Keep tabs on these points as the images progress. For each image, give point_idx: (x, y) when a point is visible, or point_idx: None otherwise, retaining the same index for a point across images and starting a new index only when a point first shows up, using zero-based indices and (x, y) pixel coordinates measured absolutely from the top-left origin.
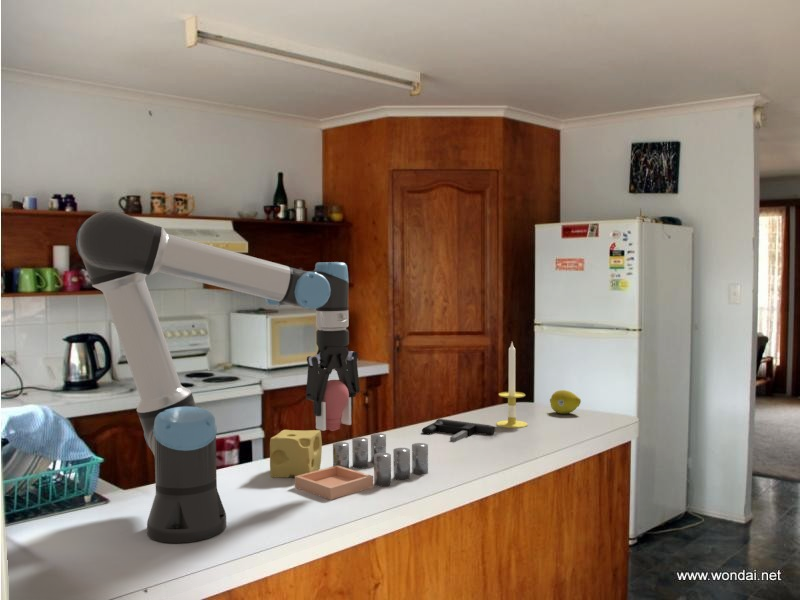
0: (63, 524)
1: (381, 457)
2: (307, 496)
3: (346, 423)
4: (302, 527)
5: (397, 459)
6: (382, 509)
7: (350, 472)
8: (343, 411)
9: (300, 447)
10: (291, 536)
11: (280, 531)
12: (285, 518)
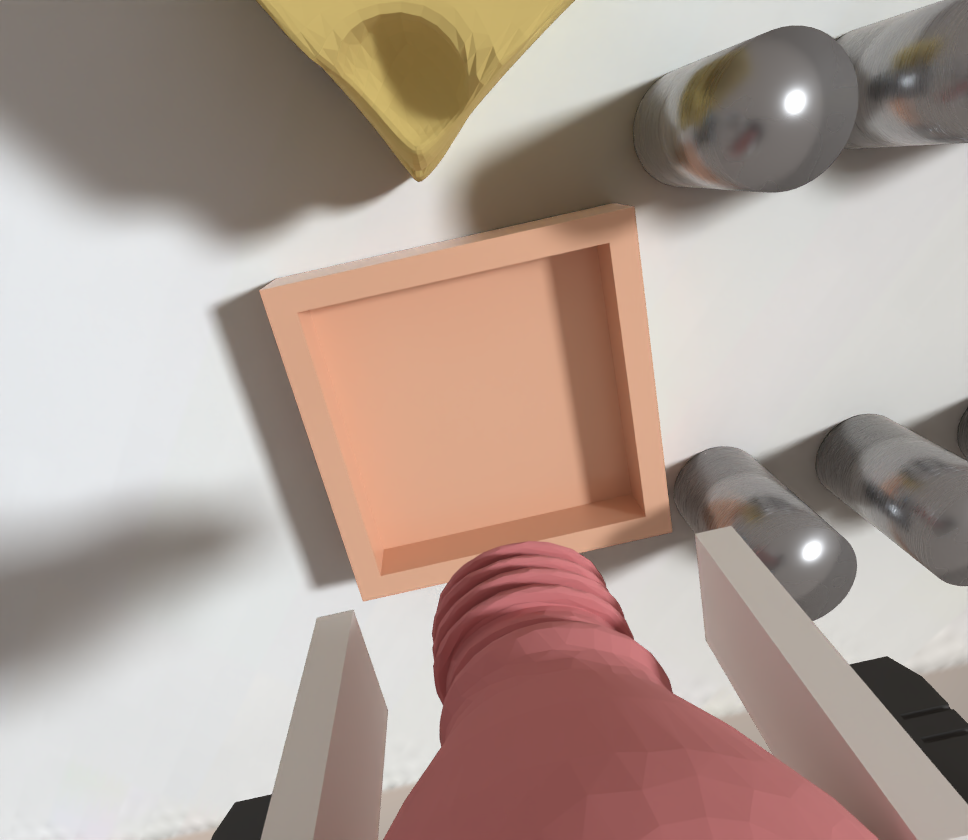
0: None
1: None
2: (283, 463)
3: (706, 615)
4: (125, 780)
5: (891, 534)
6: None
7: (624, 378)
8: (768, 668)
9: (357, 101)
10: (57, 832)
11: (26, 780)
12: (83, 674)
